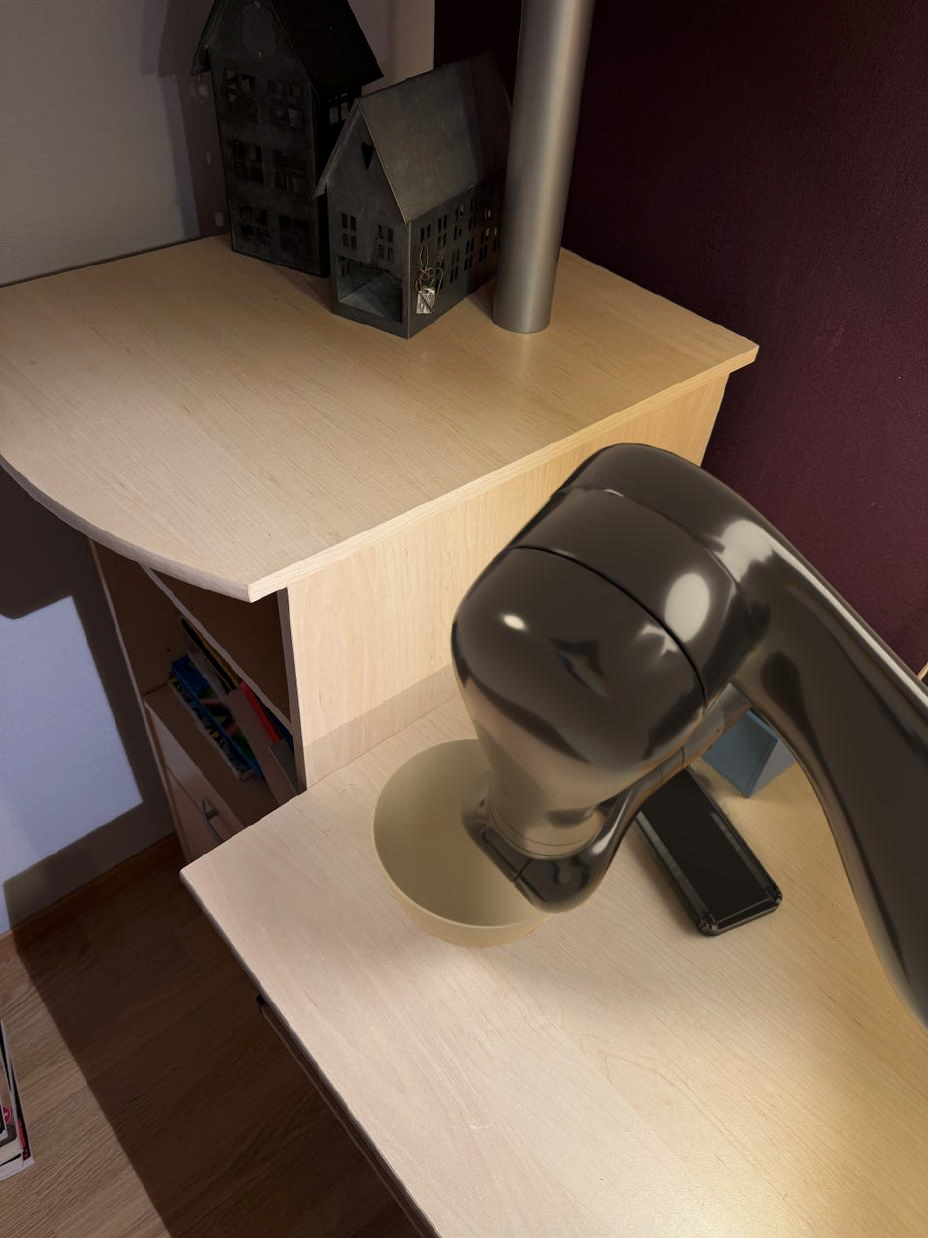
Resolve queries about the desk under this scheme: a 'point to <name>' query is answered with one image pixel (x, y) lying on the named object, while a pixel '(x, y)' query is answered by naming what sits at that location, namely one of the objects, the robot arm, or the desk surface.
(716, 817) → the phone
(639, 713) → the robot arm
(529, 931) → the bowl
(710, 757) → the blue open storage bin
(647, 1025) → the desk surface
